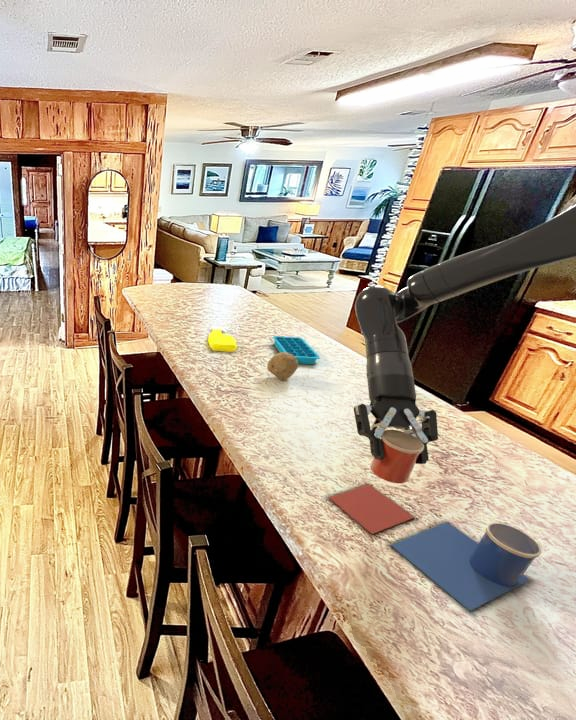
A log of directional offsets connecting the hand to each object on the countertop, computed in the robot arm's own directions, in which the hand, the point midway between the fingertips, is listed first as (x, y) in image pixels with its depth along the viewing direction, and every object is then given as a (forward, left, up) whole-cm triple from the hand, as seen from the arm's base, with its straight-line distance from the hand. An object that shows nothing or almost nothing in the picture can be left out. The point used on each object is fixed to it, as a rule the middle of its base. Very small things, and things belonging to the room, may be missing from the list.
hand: (400, 461), depth 74 cm
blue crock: (-8, +16, -14) cm, 23 cm away
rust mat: (-1, -2, -14) cm, 14 cm away
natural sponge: (-25, -54, -14) cm, 61 cm away
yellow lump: (-27, -90, -14) cm, 95 cm away
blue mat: (-4, +13, -14) cm, 19 cm away
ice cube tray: (-46, -69, -14) cm, 84 cm away
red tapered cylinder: (-1, -1, -4) cm, 4 cm away
